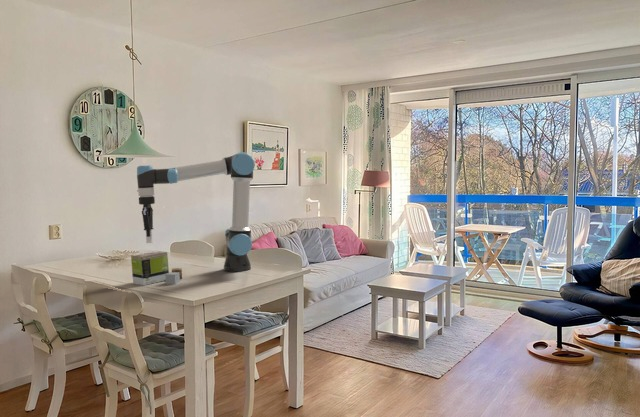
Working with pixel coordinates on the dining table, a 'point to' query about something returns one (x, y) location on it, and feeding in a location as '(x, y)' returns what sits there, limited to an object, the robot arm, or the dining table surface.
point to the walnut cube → (178, 271)
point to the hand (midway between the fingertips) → (149, 242)
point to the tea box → (149, 267)
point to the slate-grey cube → (172, 278)
